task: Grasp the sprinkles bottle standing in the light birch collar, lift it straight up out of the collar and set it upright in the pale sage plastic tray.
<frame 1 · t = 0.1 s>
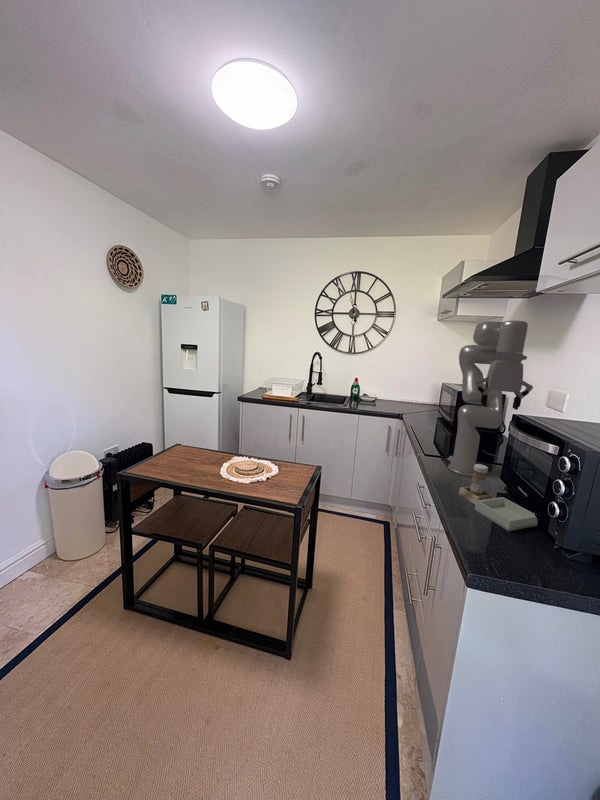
hand: (499, 407, 108), 37 cm above the worktop, tool pointing down, fingers open, 9 cm apart
collar: (475, 498, 119), on the worktop
tray: (504, 517, 107), on the worktop
sprinkles bottle: (475, 499, 119), resting in collar
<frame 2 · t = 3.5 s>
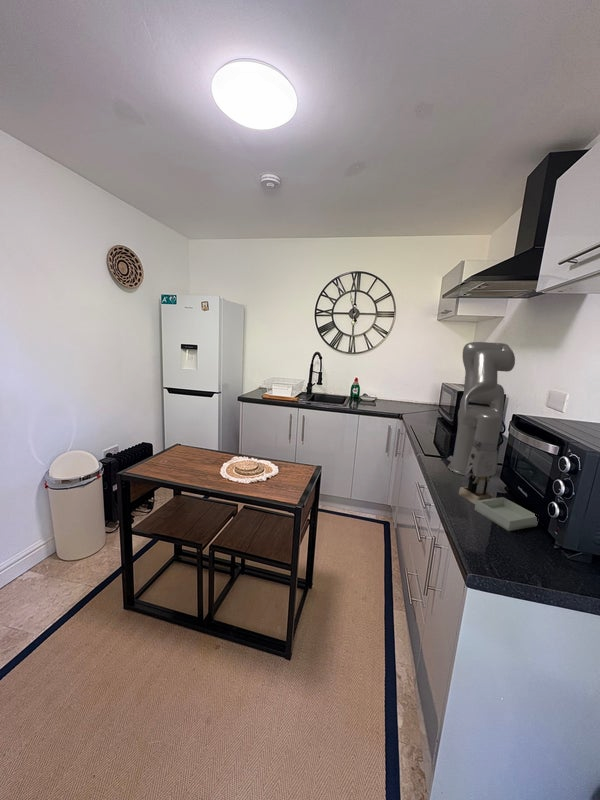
hand: (476, 490, 119), 3 cm above the worktop, tool pointing down, fingers closed on sprinkles bottle, 4 cm apart
sprinkles bottle: (475, 499, 119), resting in collar, touching gripper
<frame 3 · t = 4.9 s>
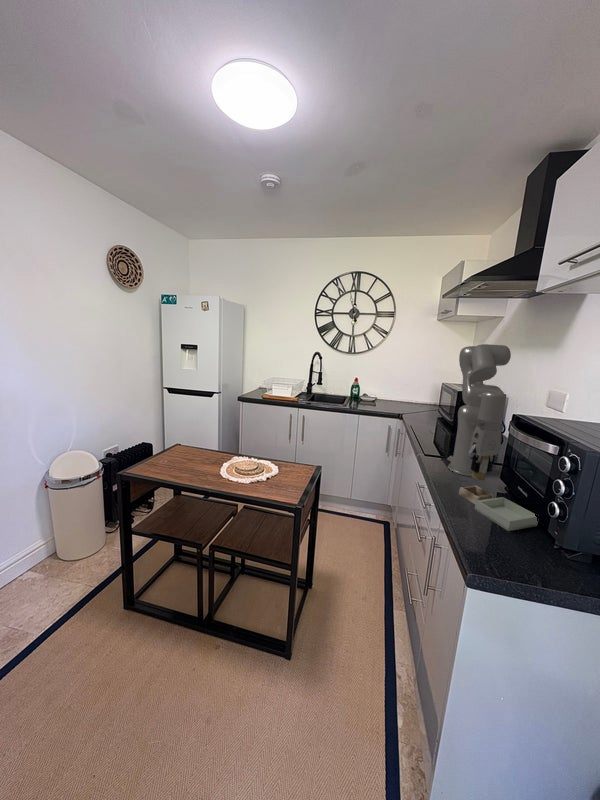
hand: (479, 470, 118), 11 cm above the worktop, tool pointing down, fingers closed on sprinkles bottle, 4 cm apart
sprinkles bottle: (478, 478, 119), point 8 cm above the worktop, touching gripper
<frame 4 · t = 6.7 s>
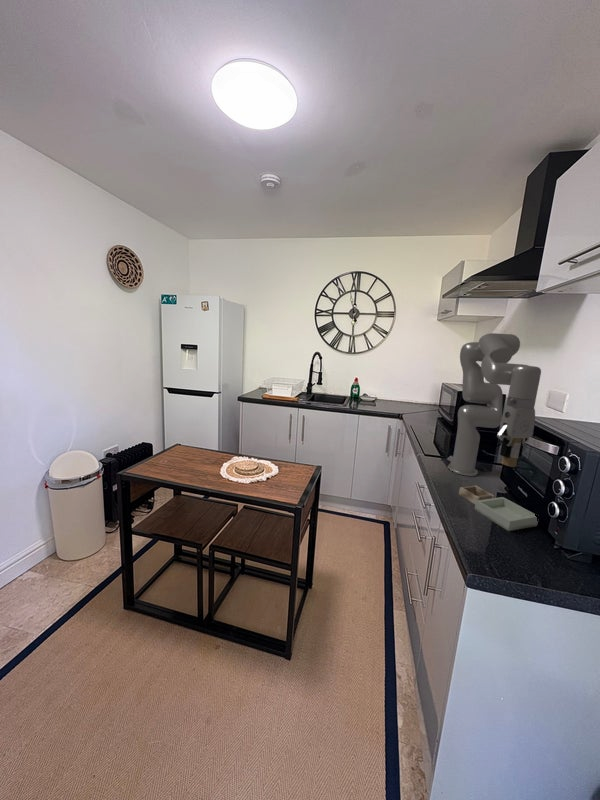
hand: (510, 455, 105), 22 cm above the worktop, tool pointing down, fingers closed on sprinkles bottle, 4 cm apart
sprinkles bottle: (508, 465, 105), point 18 cm above the worktop, touching gripper
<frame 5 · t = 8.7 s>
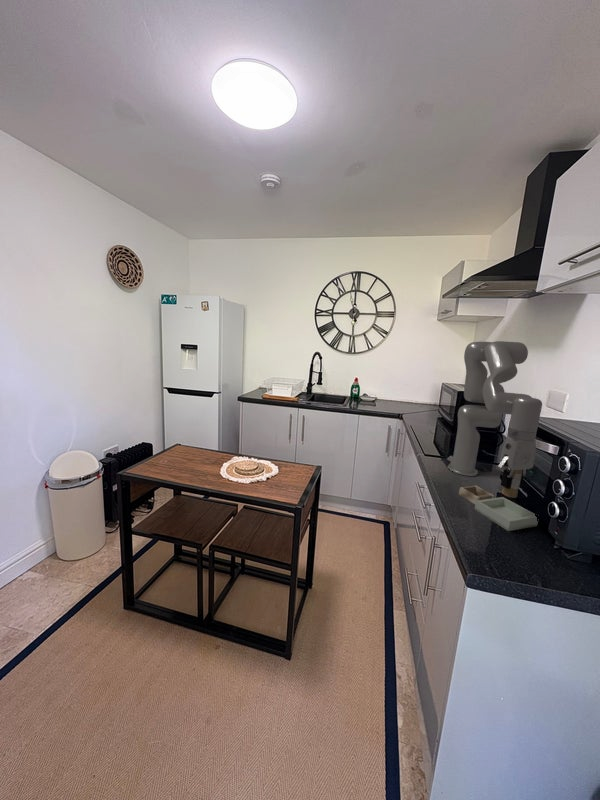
hand: (511, 485, 105), 12 cm above the worktop, tool pointing down, fingers closed on sprinkles bottle, 4 cm apart
sprinkles bottle: (509, 495, 105), point 8 cm above the worktop, touching gripper
when the fingers open (6 cm above the worktop, at t = 10.2 s): sprinkles bottle drops 1 cm, resting on tray.
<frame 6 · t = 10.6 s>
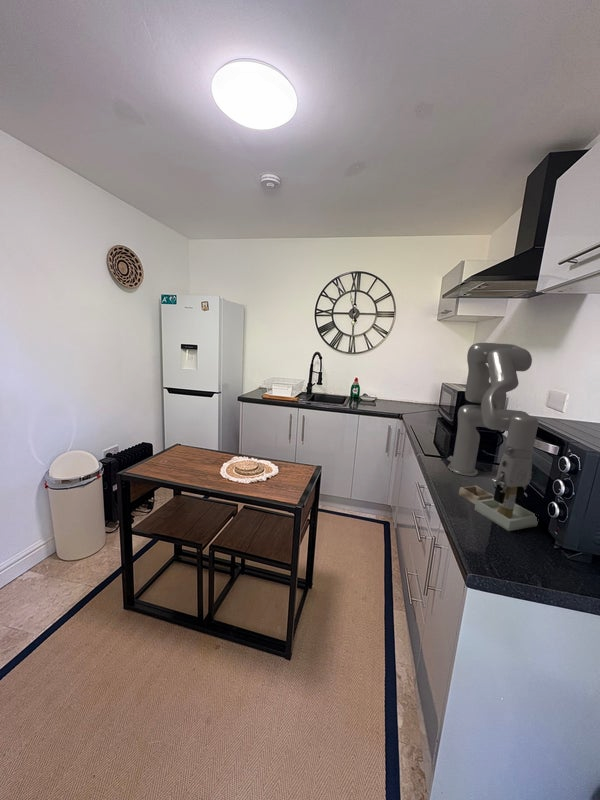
hand: (508, 500, 106), 7 cm above the worktop, tool pointing down, fingers open, 8 cm apart
sprinkles bottle: (504, 515, 107), point 1 cm above the worktop, touching tray
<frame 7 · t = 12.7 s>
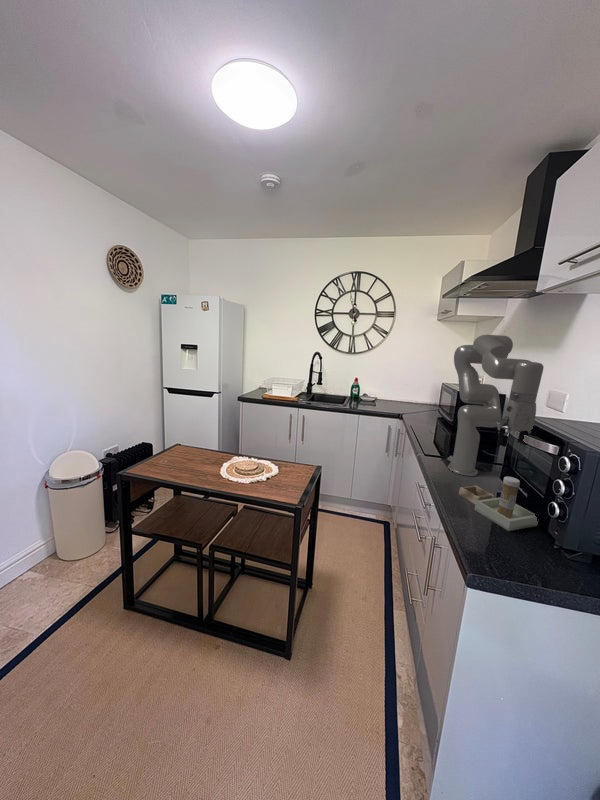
hand: (511, 444, 110), 24 cm above the worktop, tool pointing down, fingers open, 9 cm apart
nothing on the worktop moved.
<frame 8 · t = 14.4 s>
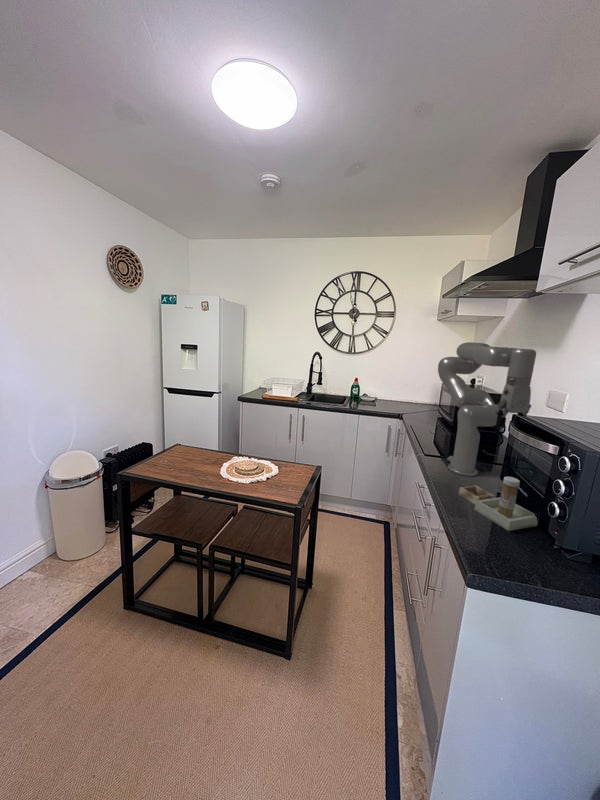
hand: (509, 426, 119), 28 cm above the worktop, tool pointing down, fingers open, 9 cm apart
nothing on the worktop moved.
at the end: sprinkles bottle inside the target area on the tray (0.2 cm from its centre), point 0.6 cm above the tray's base; sprinkles bottle tilted 0°; the gripper is holding nothing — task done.
